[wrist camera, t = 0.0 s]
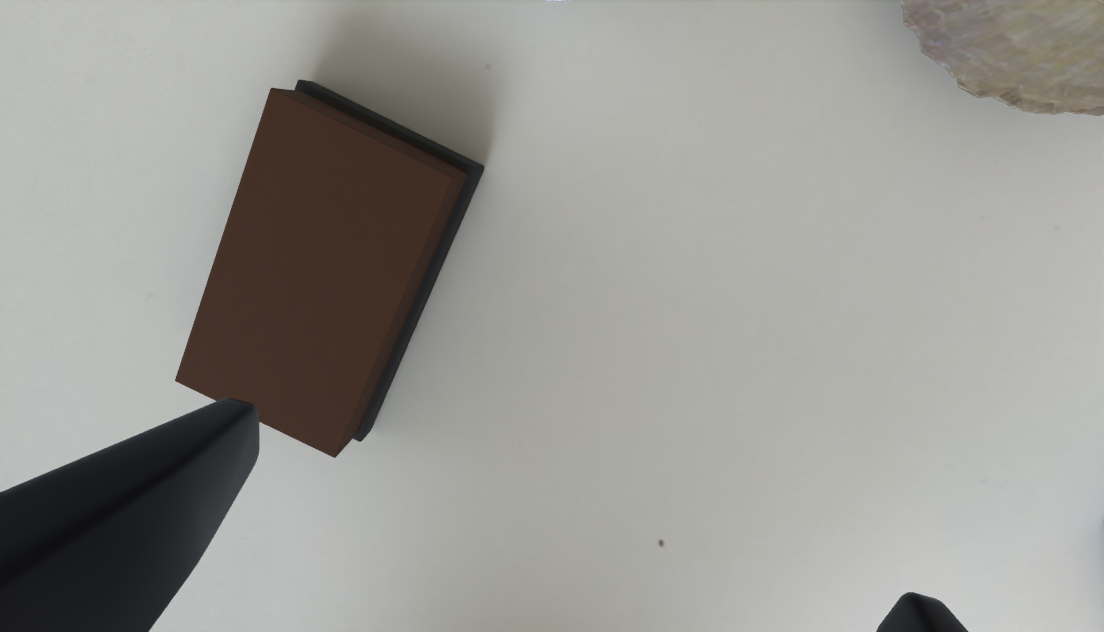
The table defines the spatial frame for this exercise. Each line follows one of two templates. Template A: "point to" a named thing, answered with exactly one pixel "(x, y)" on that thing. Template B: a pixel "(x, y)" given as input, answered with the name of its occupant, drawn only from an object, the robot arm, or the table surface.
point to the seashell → (1018, 50)
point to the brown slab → (325, 265)
